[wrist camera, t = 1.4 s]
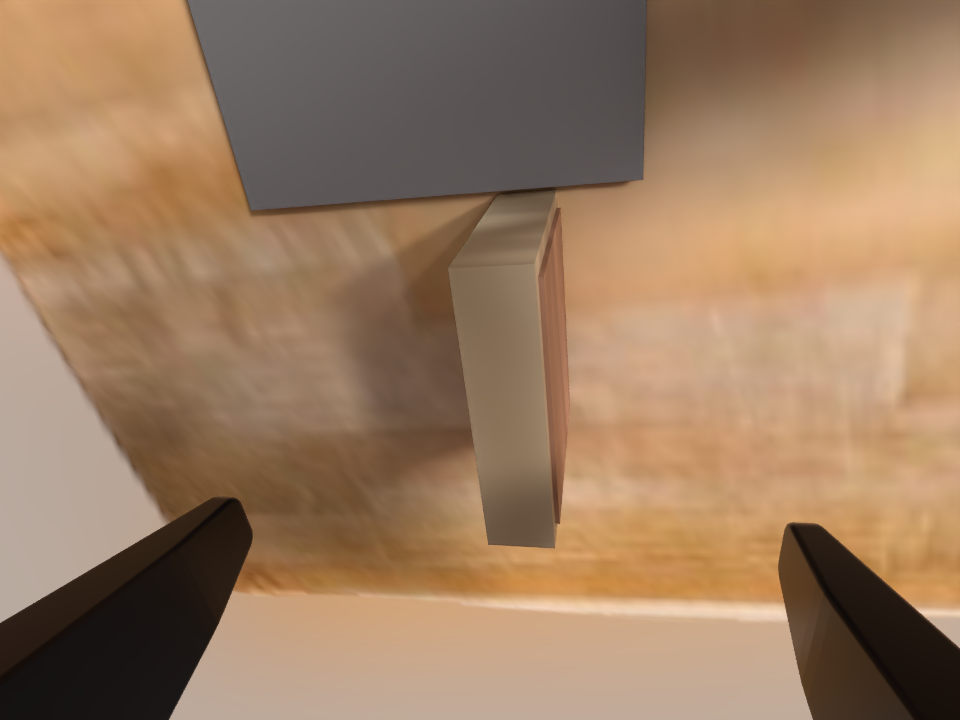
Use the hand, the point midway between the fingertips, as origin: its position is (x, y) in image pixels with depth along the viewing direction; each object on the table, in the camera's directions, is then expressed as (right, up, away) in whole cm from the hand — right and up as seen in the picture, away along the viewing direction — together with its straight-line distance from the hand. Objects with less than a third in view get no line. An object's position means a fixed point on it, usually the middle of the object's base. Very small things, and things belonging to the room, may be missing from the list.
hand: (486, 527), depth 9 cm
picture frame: (+2, +4, +8) cm, 9 cm away
